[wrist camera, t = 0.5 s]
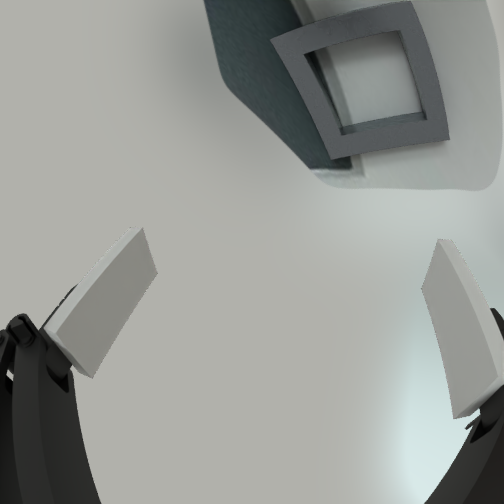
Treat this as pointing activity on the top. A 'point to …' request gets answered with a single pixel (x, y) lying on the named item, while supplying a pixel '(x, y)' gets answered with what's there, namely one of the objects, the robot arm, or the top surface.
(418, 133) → the jig
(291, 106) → the top surface
